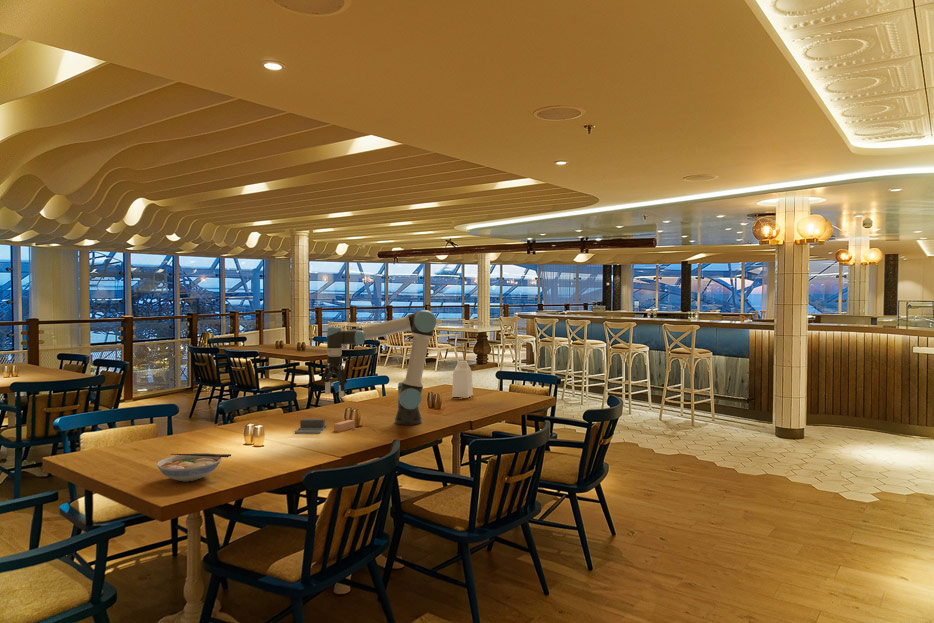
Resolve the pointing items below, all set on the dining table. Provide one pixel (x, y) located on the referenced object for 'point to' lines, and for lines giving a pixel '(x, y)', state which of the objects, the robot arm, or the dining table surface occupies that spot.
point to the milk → (462, 380)
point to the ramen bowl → (189, 465)
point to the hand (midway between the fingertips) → (334, 395)
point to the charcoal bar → (312, 423)
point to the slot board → (310, 430)
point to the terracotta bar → (344, 425)
